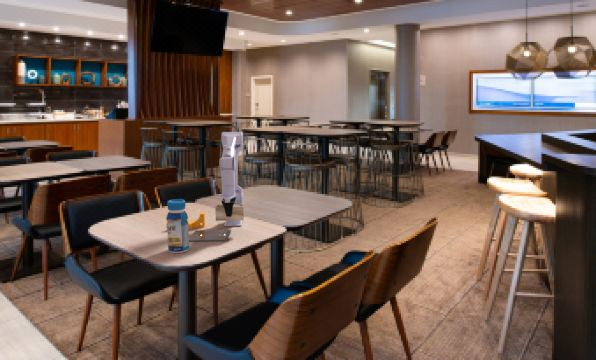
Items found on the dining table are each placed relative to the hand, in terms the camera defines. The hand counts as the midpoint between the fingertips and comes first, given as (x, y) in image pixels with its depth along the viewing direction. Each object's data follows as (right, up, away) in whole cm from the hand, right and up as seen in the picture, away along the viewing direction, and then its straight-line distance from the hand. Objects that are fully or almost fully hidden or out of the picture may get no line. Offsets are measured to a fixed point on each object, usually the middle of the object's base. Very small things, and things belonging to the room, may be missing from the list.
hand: (229, 215), depth 194 cm
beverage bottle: (-17, -13, -18) cm, 28 cm away
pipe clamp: (-19, -7, +12) cm, 24 cm away
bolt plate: (-8, -9, -1) cm, 12 cm away
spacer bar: (0, -2, 0) cm, 2 cm away
